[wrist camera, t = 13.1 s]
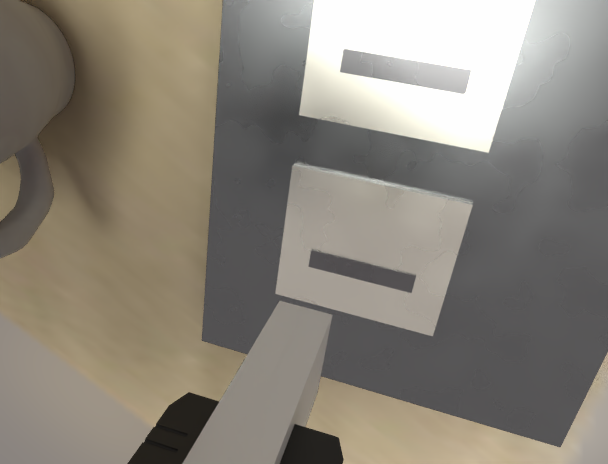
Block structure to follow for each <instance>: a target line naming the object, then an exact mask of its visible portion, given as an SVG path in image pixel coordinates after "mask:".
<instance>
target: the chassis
mask: <svg viewBox="0 0 608 464" xmlns="http://www.w3.org/2000/svg"><path fill="white" fill-rule="evenodd" d="M279 301H283V302H287V303H290V304H294V305H298V306H302V307H305V308H309V309H313V310H316V311H320V312H324V313H328V314H331V315H332V320H331V325H330V330H329V335H328V341H327V346H326V351H325V356H324V361H323V367H322V372H321V376H322V377H326V378H329V379H332V380H336V381H339V382H342V383H346V384H349V385H353V386H356V387H359V388H363V389H366V390H369V391H373V392H376V393H379V394H383V395H386V396H389V397H393V398H396V399H400V400H403V401H406V402H410V403H413V404H416V405H420V406H423V407H426V408H430V409H433V410H436V411H440V412H443V413H447V414H450V415H453V416H457V417H460V418H463V419H467V420H470V421H473V422H477V423H480V424H484V425H487V426H490V427H494V428H497V429H500V430H504V431H507V432H510V433H514V434H517V435H520V436H524V437H527V438H531V439H534V440H537V441H541V442H544V443H547V444H551V445H554V446H557V447H561V445H562V443H563V441H564V439H565V437H566V435H567V433H568V431H569V429H570V427H571V425H572V423H573V421H574V419H575V417H576V415H577V413H578V411H579V409H580V407H581V405H582V403H583V401H584V399H585V397H586V395H587V392H588V390H589V388H590V386H591V384H592V382H593V380H594V378H595V376H596V374H597V372H598V370H599V368H600V366H601V364H602V362H603V360H604V358H605V356H606V354H607V352H608V0H223V8H222V24H221V40H220V56H219V72H218V88H217V104H216V121H215V137H214V153H213V169H212V185H211V201H210V218H209V234H208V250H207V266H206V282H205V298H204V314H203V331H202V341H205V342H208V343H211V344H215V345H218V346H221V347H225V348H228V349H232V350H235V351H238V352H242V353H245V354H248V353H249V351H250V350H251V348H252V346H253V345H254V343H255V341H256V339H257V338H258V336H259V334H260V333H261V331H262V329H263V328H264V326H265V324H266V323H267V321H268V319H269V318H270V316H271V314H272V313H273V311H274V309H275V308H276V306H277V304H278V303H279Z"/></svg>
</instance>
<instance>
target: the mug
mask: <svg viewBox="0 0 608 464" xmlns="http://www.w3.org/2000/svg"><path fill="white" fill-rule="evenodd" d="M74 84H75V67H74V61H73V57H72V54H71V50H70V48H69V45H68V43H67V41H66V39H65V37H64V35H63V34H62V32H61V31H60V29H59V28H58V27H57V25H56V24H55V23H54V22H53V21H52V20H51V19H50V18H49V17H48V16H47V15H46V14H45V13H43V12H42V11H41V10H39V9H38V8H36V7H34V6H32V5H29V4H27V3H24V2H21V1H20V0H0V163H2V162H4V161H5V160H7V159H8V158H10V157H11V156H13V155H14V154H15V156H16V158H17V160H18V163H19V167H20V173H21V184H20V191H19V196H18V200H17V202H16V205H15V207H14V208H13V209H12V210H11V211H10V213H9V214H8V215H7V216H6V217H5V218H4V219H3V220H2V221H1V222H0V258H3V257H5V256H7V255H10V254H12V253H14V252H16V251H18V250H20V249H21V248H23V247H24V246H25V245H26V244H27V243H28V242H29V240H30V239H31V238H32V236H33V235H34V233H35V232H36V230H37V229H38V227H39V226H40V224H41V223H42V221H43V220H44V218H45V217H46V215H47V213H48V212H49V209H50V207H51V204H52V201H53V198H54V187H53V183H52V178H51V174H50V170H49V166H48V162H47V158H46V155H45V153H44V150H43V148H42V146H41V144H40V142H39V140H38V134H39V133H40V132H41V131H42V130H43V128H44V127H45V126H46V125H47V124H48V122H49V121H50V120H51V119H52V117H54V116H55V115H57V114H58V113H59V112H61V111H62V110H63V109H64V108H65V107H66V105H67V104H68V102H69V100H70V98H71V96H72V93H73V90H74Z"/></svg>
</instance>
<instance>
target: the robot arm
mask: <svg viewBox="0 0 608 464" xmlns="http://www.w3.org/2000/svg"><path fill="white" fill-rule="evenodd" d="M331 320H332V315H331V314H328V313H324V312H320V311H316V310H313V309H309V308H305V307H302V306H298V305H294V304H290V303H287V302H283V301H279V303H278V304H277V306H276V308H275V309H274V311H273V313H272V314H271V316H270V318H269V319H268V321H267V323H266V324H265V326H264V328H263V329H262V331H261V333H260V334H259V336H258V338H257V339H256V341H255V343H254V345H253V346H252V348H251V350H250V351H249V353H248V355H247V356H246V358H245V360H244V361H243V363H242V365H241V366H240V368H239V370H238V371H237V373H236V375H235V376H234V378H233V380H232V381H231V383H230V385H229V386H228V388H227V390H226V391H225V393H224V395H223V396H222V398H221V400H220V401H219V402H218V401H215V400H212V399H209V398H206V397H202V396H199V395H196V394H193V393H190V392H189V393H187V394H186V395H184V396H183V397H181V398H180V399H178V400H177V401H175V402H174V403H172V404H171V405H169V407H168V408H167V409H166V411H165V412H164V414H163V415H162V416H161V418H160V419H159V421H158V422H157V423H156V426H155V427H154V428H153V429H152V430H151V432H150V433H149V434H148V436H147V437H146V439H145V442H144V443H142V444H141V446H140V447H139V448H138V450H137V451H136V453H135V454H134V455H133V457H132V458H131V460H130V461H129V462H128V464H342V463H343V455H342V451H341V446H340V442H339V438H338V437H335V436H332V435H329V434H325V433H322V432H319V431H316V430H313V429H309V428H306V424H307V421H308V418H309V415H310V412H311V409H312V407H313V404H314V401H315V398H316V395H317V392H318V387H319V382H320V377H321V372H322V367H323V361H324V356H325V351H326V346H327V341H328V335H329V330H330V325H331Z"/></svg>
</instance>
